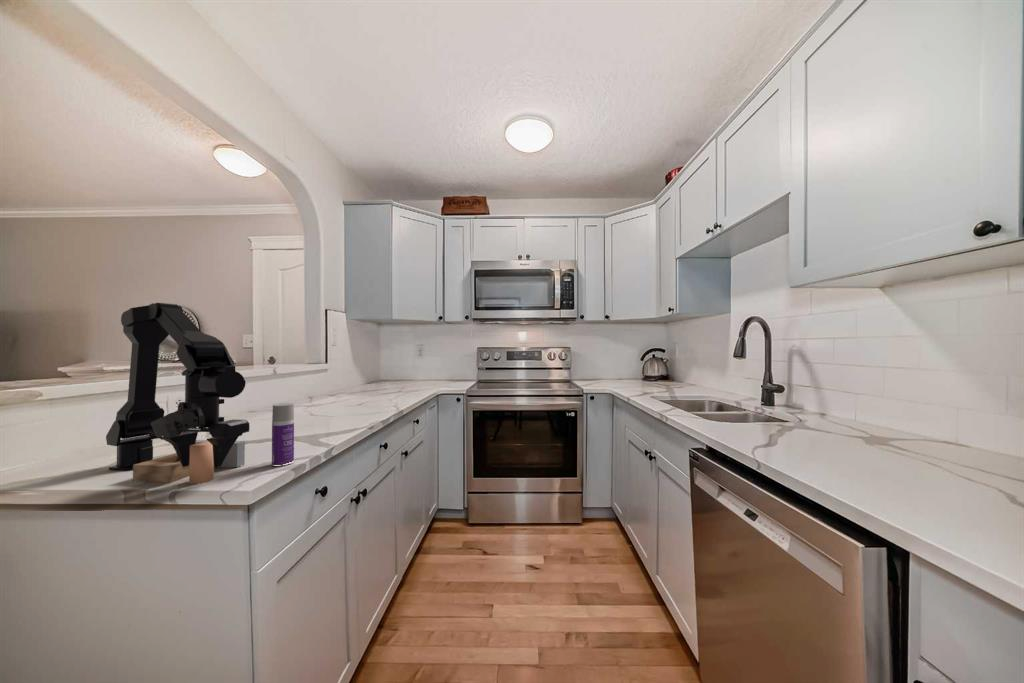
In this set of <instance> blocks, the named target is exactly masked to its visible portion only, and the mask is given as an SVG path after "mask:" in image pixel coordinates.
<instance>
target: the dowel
mask: <svg viewBox="0 0 1024 683" xmlns="http://www.w3.org/2000/svg"><path fill="white" fill-rule="evenodd" d="M214 470H215V468H214V461H213V445H212V444H211V443H210V442H204V443H198V444H193V445H191V446H190V464H189V478H188V480H189V481H188V482H189V483H190V485H199V484H198V483H200V484H205V483H209V482H210V481H213V480H214ZM204 482H205V483H204ZM189 483H188V484H189Z"/></svg>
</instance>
